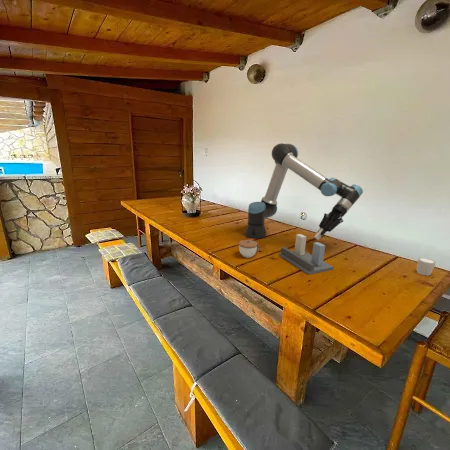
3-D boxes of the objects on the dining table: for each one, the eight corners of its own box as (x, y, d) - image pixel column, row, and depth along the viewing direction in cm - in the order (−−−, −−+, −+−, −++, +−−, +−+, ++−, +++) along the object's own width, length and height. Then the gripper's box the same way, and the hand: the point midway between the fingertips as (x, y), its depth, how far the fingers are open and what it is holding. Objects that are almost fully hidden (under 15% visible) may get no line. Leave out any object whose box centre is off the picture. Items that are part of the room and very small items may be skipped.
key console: (278, 255, 141) (279, 247, 140) (301, 251, 147) (302, 243, 146) (308, 274, 119) (309, 265, 118) (333, 269, 125) (334, 260, 124)
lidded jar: (241, 260, 134) (242, 244, 132) (236, 252, 144) (236, 237, 142) (259, 258, 137) (260, 242, 134) (252, 251, 147) (253, 236, 144)
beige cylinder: (415, 268, 127) (418, 256, 125) (432, 272, 123) (435, 260, 121) (414, 273, 122) (417, 260, 120) (432, 277, 118) (435, 264, 116)
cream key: (294, 252, 141) (296, 234, 138) (298, 251, 142) (300, 233, 139) (300, 255, 137) (302, 237, 134) (304, 255, 138) (306, 236, 135)
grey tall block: (311, 262, 129) (313, 242, 126) (315, 261, 130) (318, 242, 127) (317, 266, 124) (320, 246, 121) (322, 265, 125) (325, 245, 122)
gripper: (353, 214, 137) (327, 245, 136) (335, 209, 149) (311, 238, 147) (348, 205, 134) (321, 238, 132) (330, 201, 145) (305, 231, 144)
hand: (316, 238), depth 140 cm, fingers closed
